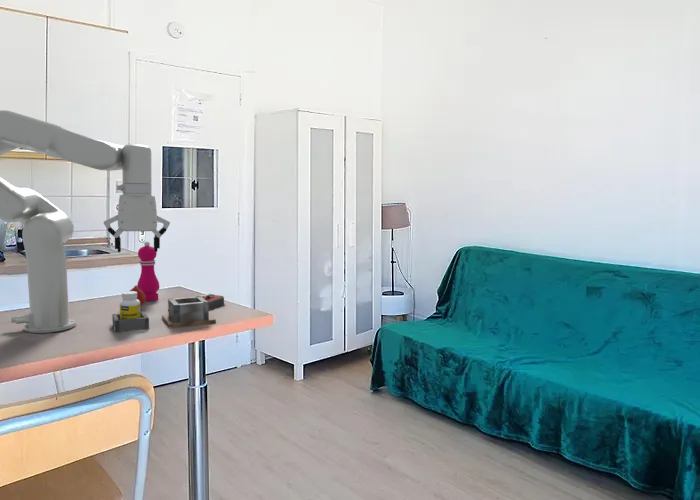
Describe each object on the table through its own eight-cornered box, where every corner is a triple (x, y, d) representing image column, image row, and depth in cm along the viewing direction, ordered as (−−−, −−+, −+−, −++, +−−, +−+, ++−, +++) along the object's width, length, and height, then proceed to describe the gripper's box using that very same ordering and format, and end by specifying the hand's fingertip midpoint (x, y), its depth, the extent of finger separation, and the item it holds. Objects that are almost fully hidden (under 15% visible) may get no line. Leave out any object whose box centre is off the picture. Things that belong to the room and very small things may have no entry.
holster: (115, 332, 155) (115, 321, 155) (112, 324, 163) (112, 314, 162) (149, 328, 159) (148, 317, 159) (144, 321, 167) (144, 311, 166)
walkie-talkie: (206, 302, 195) (165, 314, 177) (206, 289, 195) (165, 300, 176) (227, 304, 192) (188, 317, 174) (227, 291, 191) (188, 303, 173)
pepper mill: (164, 298, 197) (162, 241, 195) (146, 302, 191) (145, 243, 189) (150, 296, 201) (148, 239, 199) (133, 299, 195) (130, 241, 193)
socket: (169, 327, 160) (168, 306, 159) (162, 318, 171) (161, 298, 170) (215, 322, 166) (215, 302, 165) (205, 314, 177) (205, 294, 176)
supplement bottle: (118, 329, 158) (117, 294, 157) (122, 324, 163) (121, 290, 162) (139, 328, 159) (138, 294, 158) (142, 323, 164) (141, 290, 163)
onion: (122, 311, 179) (121, 286, 178) (134, 307, 184) (133, 283, 183) (138, 313, 177) (137, 287, 176) (149, 309, 182) (149, 284, 181)
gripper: (103, 189, 152) (104, 253, 154) (171, 191, 159) (171, 252, 161) (102, 188, 158) (103, 250, 160) (168, 190, 165) (168, 249, 167)
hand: (137, 251), depth 161 cm, fingers open, 9 cm apart
